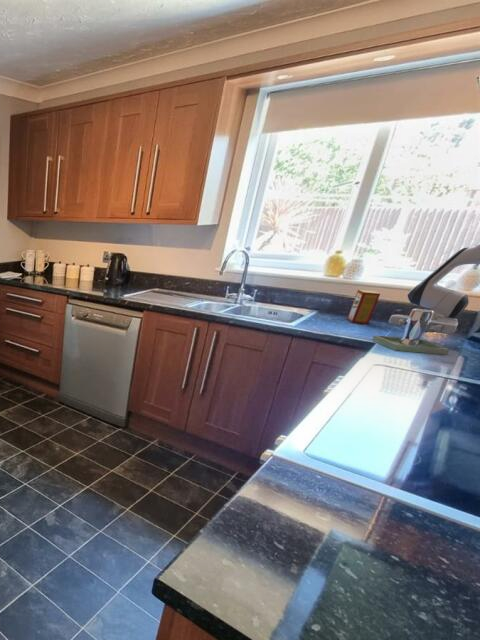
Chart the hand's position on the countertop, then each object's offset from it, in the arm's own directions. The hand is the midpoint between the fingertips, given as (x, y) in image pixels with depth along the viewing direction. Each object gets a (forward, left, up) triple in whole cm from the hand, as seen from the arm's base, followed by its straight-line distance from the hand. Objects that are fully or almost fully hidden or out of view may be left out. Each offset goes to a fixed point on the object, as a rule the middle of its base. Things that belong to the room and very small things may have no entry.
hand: (416, 325), depth 175 cm
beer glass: (-1, -1, -9) cm, 9 cm away
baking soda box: (-7, -51, -10) cm, 52 cm away
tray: (-1, -1, -10) cm, 10 cm away
